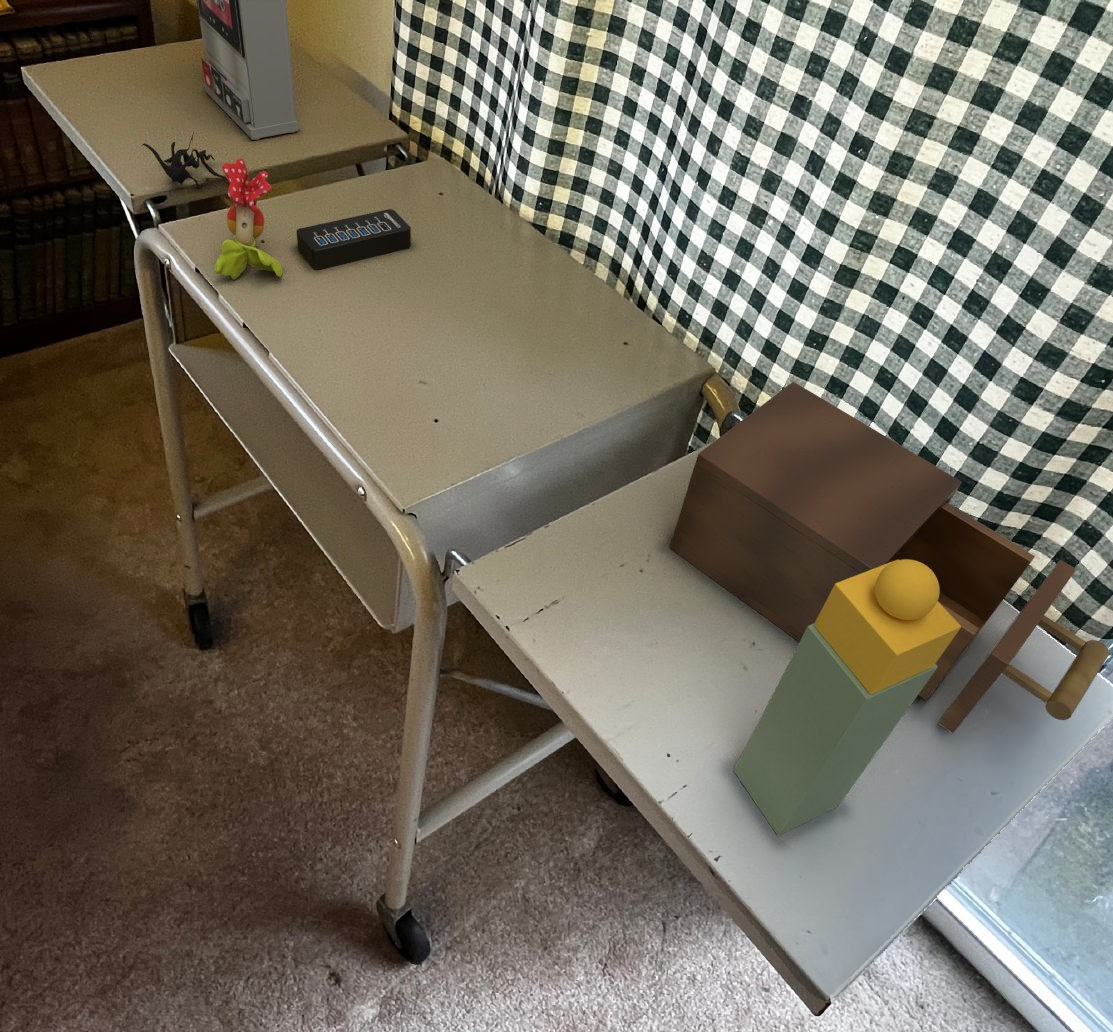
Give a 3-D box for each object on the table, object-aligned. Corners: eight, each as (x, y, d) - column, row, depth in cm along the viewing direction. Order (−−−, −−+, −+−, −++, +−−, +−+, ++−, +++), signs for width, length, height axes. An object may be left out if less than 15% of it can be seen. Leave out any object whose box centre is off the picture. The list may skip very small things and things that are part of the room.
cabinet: (908, 571, 77) (962, 481, 70) (826, 662, 70) (877, 572, 62) (758, 473, 83) (793, 381, 75) (668, 548, 76) (697, 453, 68)
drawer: (1080, 679, 70) (1144, 610, 64) (1017, 780, 64) (1082, 713, 58) (865, 539, 78) (904, 464, 71) (788, 616, 71) (824, 542, 65)
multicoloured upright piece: (215, 271, 97) (216, 287, 89) (198, 155, 93) (197, 161, 85) (278, 268, 99) (285, 283, 91) (265, 154, 95) (270, 159, 87)
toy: (933, 667, 50) (986, 593, 46) (870, 695, 49) (918, 621, 44) (874, 600, 53) (918, 524, 48) (812, 625, 51) (852, 548, 47)
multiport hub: (296, 249, 98) (294, 228, 97) (392, 227, 103) (392, 207, 101) (314, 271, 96) (313, 250, 94) (412, 247, 101) (412, 228, 99)
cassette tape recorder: (203, 93, 119) (167, -143, 101) (250, 86, 122) (223, -146, 104) (250, 142, 112) (220, -103, 94) (298, 133, 115) (278, -106, 97)
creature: (180, 166, 109) (136, 181, 102) (178, 117, 106) (133, 129, 99) (243, 183, 108) (203, 200, 101) (242, 134, 105) (201, 148, 98)
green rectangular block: (838, 806, 62) (938, 666, 50) (777, 836, 60) (867, 699, 48) (792, 743, 65) (877, 597, 53) (732, 770, 63) (807, 625, 51)
